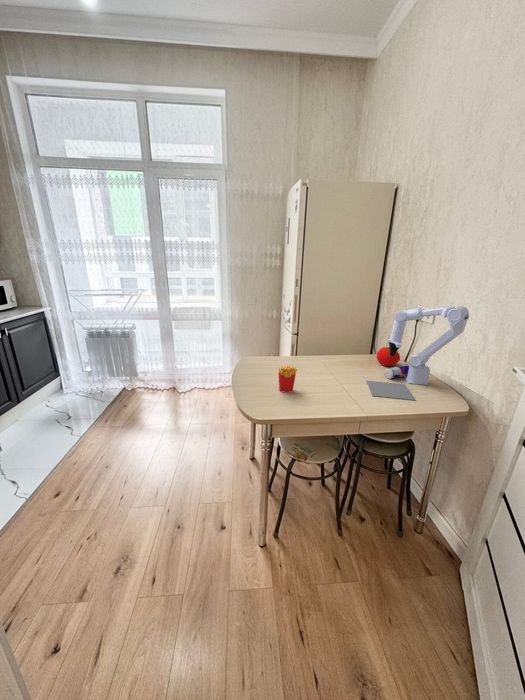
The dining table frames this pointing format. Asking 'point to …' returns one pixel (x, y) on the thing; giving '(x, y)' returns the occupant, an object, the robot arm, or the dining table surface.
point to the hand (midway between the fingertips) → (391, 355)
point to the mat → (390, 390)
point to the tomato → (387, 357)
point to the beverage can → (397, 371)
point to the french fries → (287, 378)
